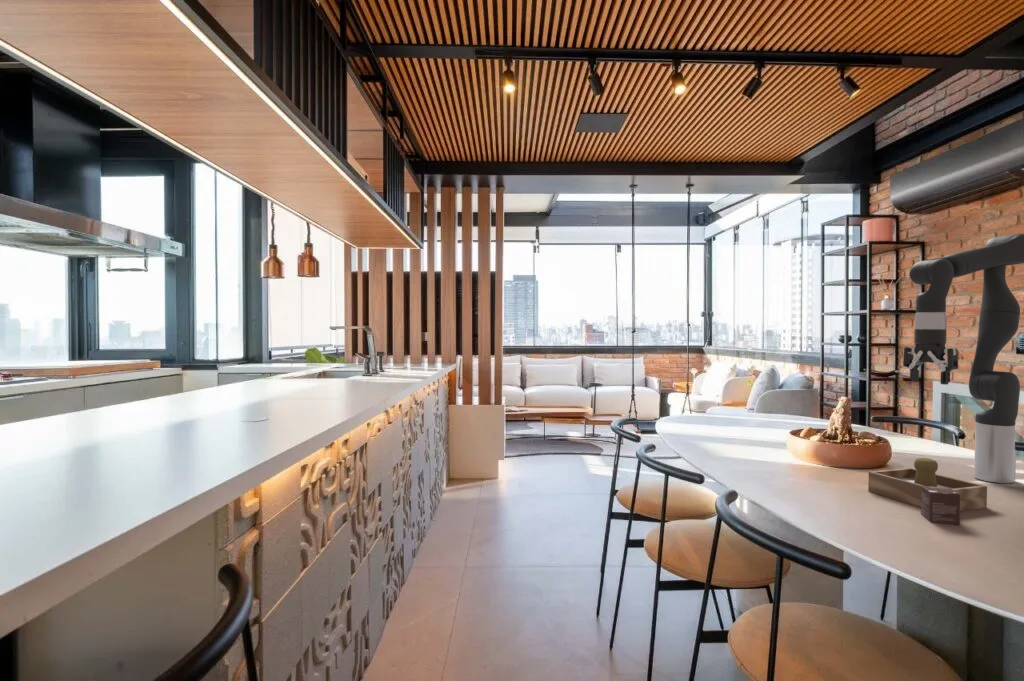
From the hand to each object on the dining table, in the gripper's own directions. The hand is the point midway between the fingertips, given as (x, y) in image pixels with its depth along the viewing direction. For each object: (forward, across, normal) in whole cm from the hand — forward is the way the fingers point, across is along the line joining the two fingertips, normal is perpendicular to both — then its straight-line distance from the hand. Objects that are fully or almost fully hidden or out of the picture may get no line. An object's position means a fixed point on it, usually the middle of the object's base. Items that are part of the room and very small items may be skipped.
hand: (929, 383), depth 163 cm
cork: (+30, -10, +15) cm, 35 cm away
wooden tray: (+30, -10, +15) cm, 35 cm away
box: (+30, -23, +28) cm, 47 cm away
